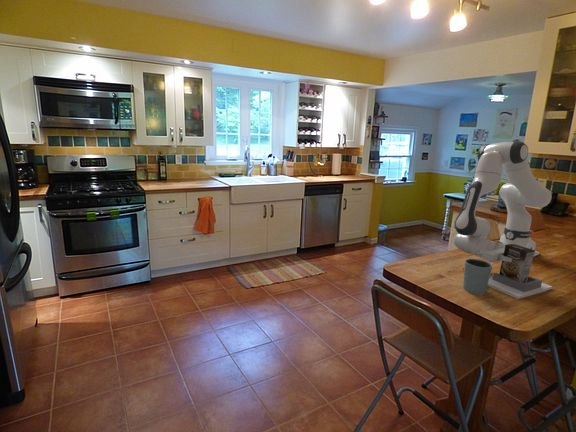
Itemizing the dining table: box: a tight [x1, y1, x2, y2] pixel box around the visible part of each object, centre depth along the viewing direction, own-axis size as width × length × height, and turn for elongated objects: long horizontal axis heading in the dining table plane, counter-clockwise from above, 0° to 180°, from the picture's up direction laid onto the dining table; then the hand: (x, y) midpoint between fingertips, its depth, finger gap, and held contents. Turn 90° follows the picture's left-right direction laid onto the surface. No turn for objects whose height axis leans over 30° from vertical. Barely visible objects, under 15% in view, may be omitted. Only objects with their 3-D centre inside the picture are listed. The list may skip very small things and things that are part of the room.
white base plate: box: [487, 272, 553, 300], centre depth 150 cm, size 24×18×4 cm
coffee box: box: [498, 244, 536, 283], centre depth 148 cm, size 9×6×16 cm
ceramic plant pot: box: [462, 258, 493, 295], centre depth 143 cm, size 10×10×12 cm
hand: (518, 259), depth 147 cm, fingers closed on coffee box, 6 cm apart
